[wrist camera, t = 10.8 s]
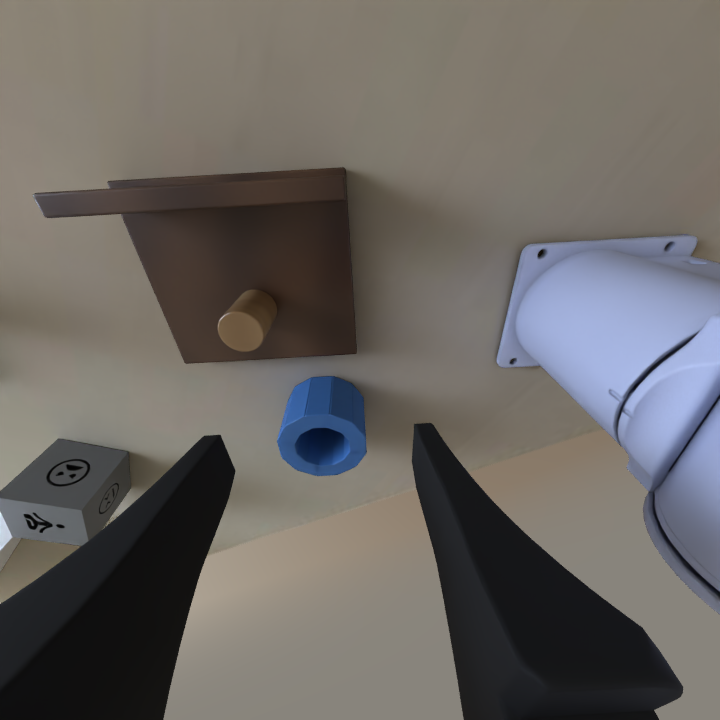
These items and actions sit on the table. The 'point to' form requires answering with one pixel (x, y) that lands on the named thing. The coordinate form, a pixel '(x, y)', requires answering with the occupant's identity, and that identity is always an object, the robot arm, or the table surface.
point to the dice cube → (66, 493)
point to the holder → (239, 258)
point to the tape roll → (323, 427)
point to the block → (6, 542)
